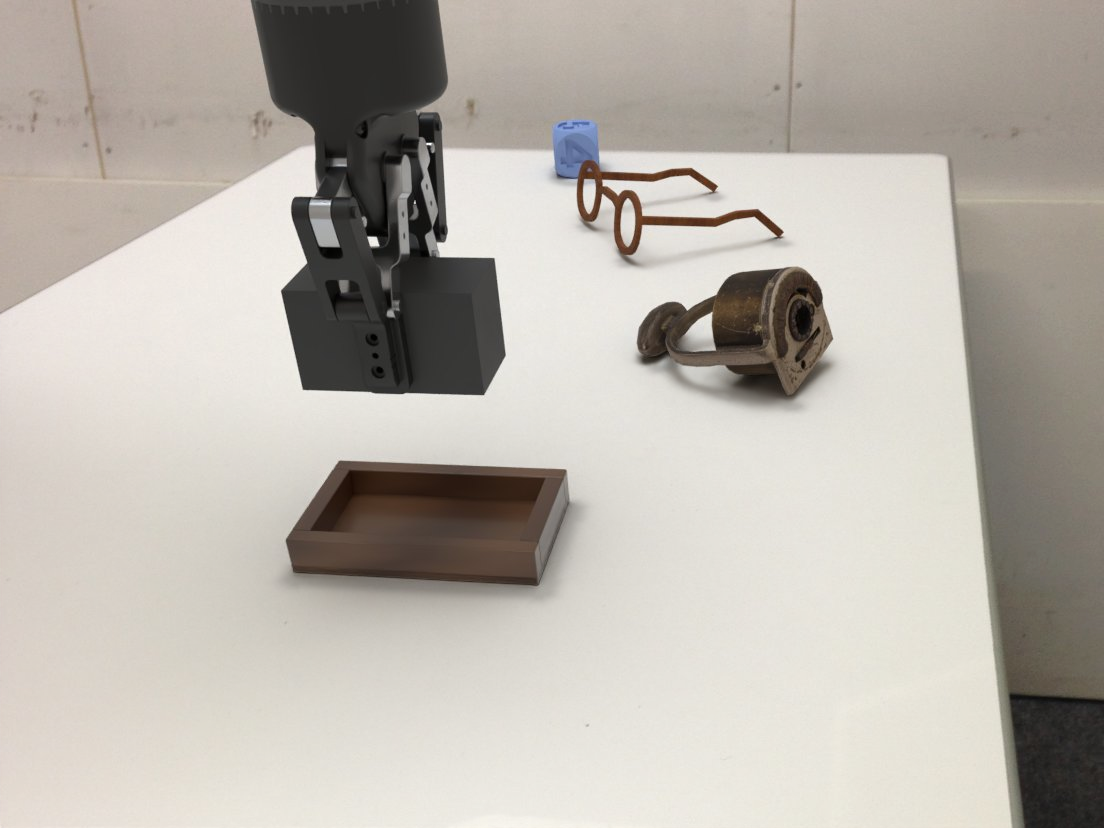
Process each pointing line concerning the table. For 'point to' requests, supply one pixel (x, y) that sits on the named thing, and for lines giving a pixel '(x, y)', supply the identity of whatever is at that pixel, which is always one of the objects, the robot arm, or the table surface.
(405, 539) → the tray
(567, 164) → the decorative dice
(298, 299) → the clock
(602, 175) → the glasses
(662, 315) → the antique brass mechanism
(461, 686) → the table surface
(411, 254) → the robot arm
